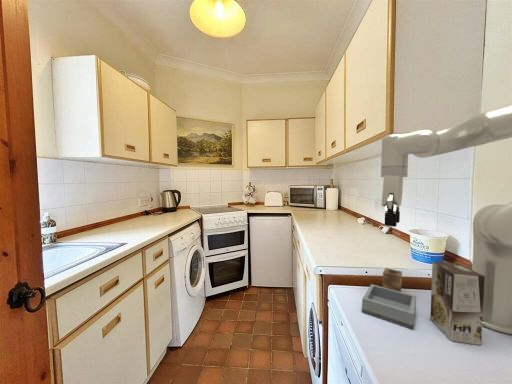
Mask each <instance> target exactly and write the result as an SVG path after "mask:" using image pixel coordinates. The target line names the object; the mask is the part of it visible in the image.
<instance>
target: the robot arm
mask: <svg viewBox="0 0 512 384" xmlns="http://www.w3.org/2000/svg"><path fill="white" fill-rule="evenodd" d="M510 138H512V103H510V104H507V105H504V106H500V107H496V108H492V109H490V110H486V111H484V112H481V113H478V114H475V116H473V117H470V118H468V119H467V120H465V121H463V122H461V123H459V124H457V125H455V126H452V127H449V128H446V129H443V130H439V131H435V130H432V129H428V128H427V129H419V130H415V131H410V132H406V133H395V134H394V133H392V134H387V135H385V136H383V138H382V139H381V159H380V161H381V163H380V164H381V165H380V178H383V182H382V183H383V184H382V192H381V193H382V194H381V206H382V207H385V212H384V226H386V227H395V228H396V227H397V225H398V224H399V223H400V220H401V218H400V217H401V215H400V214H401V213H400V212H401V211H400V207H401V206H402V201H403V189H404V178H408V173H409V171H408V170H409V169H408V167H409V155H413V156H415V157H417V158H420V159H421V158H423V159H424V158H426V159H427V158H430V157H434V156H440V155H444V154H448V153H451V152H452V153H453V152H456V151H460V150H466V149H468V148H472V147H478V146H481V145H482V146H483V145H486V144H490V143H493V142H494V143H495V142H497V141H503V140H508V139H510ZM472 220H473V221H472V240H473V245H472V264H471V265H472V266H471V270H473V271H475V272H477V273H479V274H481V275H483V276H485V282H484V300H483V316H482V327H485V328H488V329H490V330H493V331H496V332H500V333H504V334H508V335H512V201H510V202H508V203H507V204H490V205H486V206H484V207H482V208H480V209H479V210H478V211H476V213H475V215H474V216H473V219H472Z"/></svg>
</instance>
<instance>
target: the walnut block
mask: <svg viewBox="0 0 512 384" xmlns="http://www.w3.org/2000/svg"><path fill="white" fill-rule="evenodd" d="M402 282H403V270H402V271H401V270H397V269H391V268H387V267H385V268H384V270H383V272H382V286H381V287H384V288H388V289H392V290H396V291H399V292H402Z"/></svg>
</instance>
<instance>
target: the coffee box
mask: <svg viewBox="0 0 512 384" xmlns="http://www.w3.org/2000/svg"><path fill="white" fill-rule="evenodd" d="M431 263H432V267H431V271H432V272H431V290H430V291H431V293H430V294H431V295H430V297H431V298H430V318H429V319H430V321H432V323H433V324H434V325H435V326H436V327H437V328H438V329H440V330H439V331H440V332H442V333H443V334H444V335H445V336H446V337H447V338H448V339H449V340H450V341H451V342H458V343H464V344H471V345H477V346H481V345H482V335H483V333H482V331H483V326H482V316H483V300H484V282H485V276H483V275H481V274H479V273H477V272H475V271H473V270H472V268H469V267H467V266H465V265H462V264H460V263H455V262H439V261H438V262H437V261H432V262H431Z"/></svg>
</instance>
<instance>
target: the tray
mask: <svg viewBox="0 0 512 384" xmlns="http://www.w3.org/2000/svg"><path fill="white" fill-rule="evenodd" d="M416 309H417V295H414V294H410V293H406V292H403V291H401V292H399V291H396V290H392V289H388V288H384V287H382V286H380V285H377V284H372V283H371V284H370V286H369V287H368V288H367V290H366V292H365V293H364V295H363V296H362V301H361V313H362V314H366V315H370V316H372V317H375V318H378V319H380V320H383V321H386V322H390V323H392V324H394V325H395V324H396V325H398V326H401V327H404V328H406V329H409V330H412V331H414V325H415V317H416V311H415V310H416Z"/></svg>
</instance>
